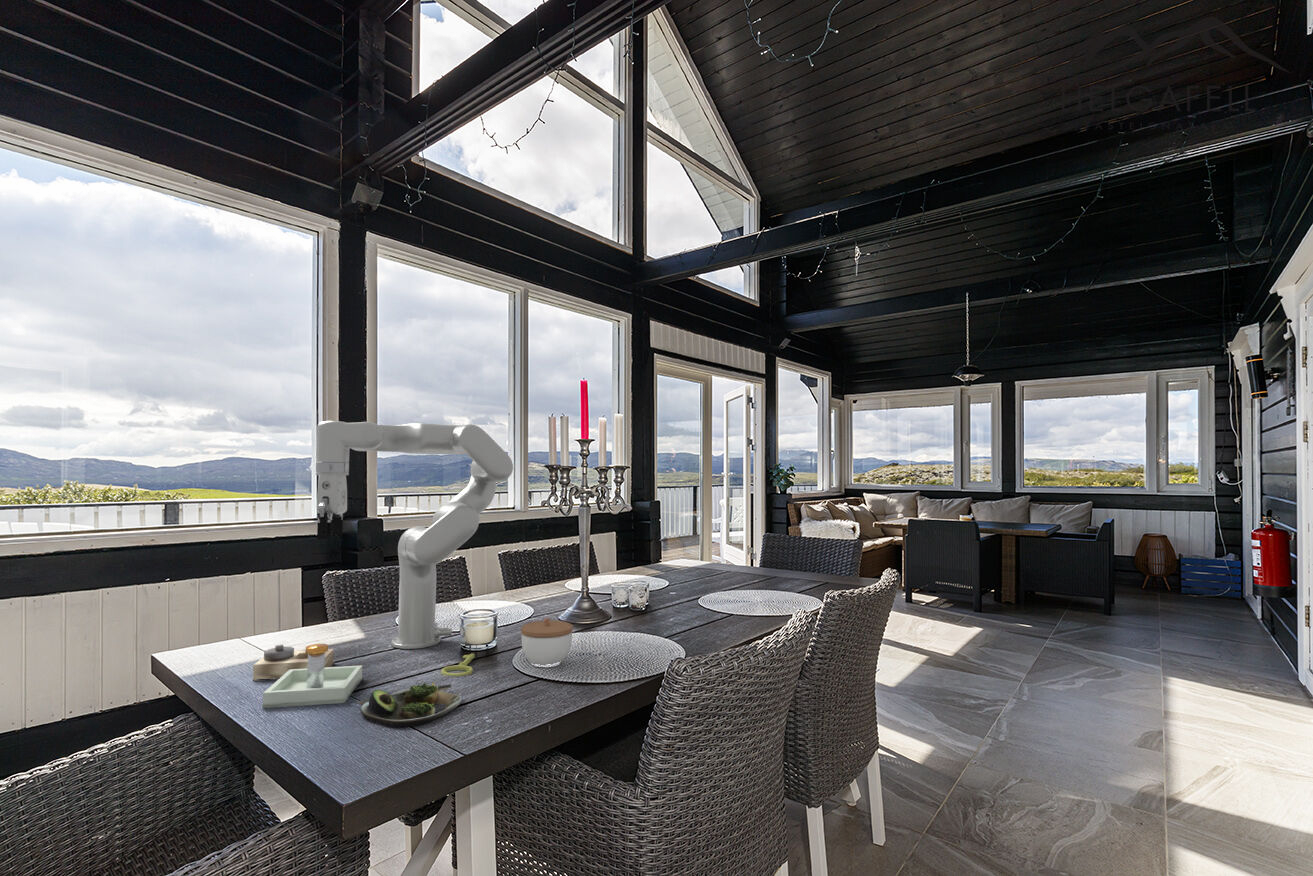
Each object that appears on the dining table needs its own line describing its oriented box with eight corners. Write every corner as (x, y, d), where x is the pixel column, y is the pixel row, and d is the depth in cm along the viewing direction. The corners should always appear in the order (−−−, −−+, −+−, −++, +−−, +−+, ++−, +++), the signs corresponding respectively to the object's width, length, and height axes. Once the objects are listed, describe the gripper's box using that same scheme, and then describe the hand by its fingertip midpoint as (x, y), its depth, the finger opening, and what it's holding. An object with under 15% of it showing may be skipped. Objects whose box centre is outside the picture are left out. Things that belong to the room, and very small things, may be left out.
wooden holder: (333, 663, 154) (334, 637, 154) (321, 676, 144) (321, 649, 144) (269, 666, 151) (270, 640, 151) (252, 680, 141) (254, 652, 141)
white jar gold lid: (328, 685, 136) (330, 643, 136) (322, 692, 132) (325, 648, 132) (307, 686, 135) (309, 644, 135) (300, 693, 131) (303, 649, 131)
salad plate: (424, 686, 139) (424, 665, 139) (483, 701, 131) (484, 678, 131) (343, 716, 122) (344, 691, 123) (406, 735, 114) (407, 709, 114)
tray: (361, 678, 143) (362, 665, 143) (344, 702, 128) (344, 687, 128) (289, 683, 139) (289, 669, 140) (262, 708, 125) (263, 693, 125)
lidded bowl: (537, 675, 146) (538, 627, 147) (510, 662, 156) (511, 617, 156) (582, 664, 155) (582, 619, 155) (554, 653, 164) (555, 610, 165)
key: (474, 661, 158) (474, 652, 158) (472, 677, 146) (472, 667, 146) (444, 663, 156) (444, 654, 156) (439, 679, 144) (439, 670, 144)
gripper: (339, 469, 153) (336, 540, 152) (356, 469, 170) (354, 533, 169) (305, 469, 151) (302, 541, 150) (326, 469, 168) (324, 533, 167)
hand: (330, 536), depth 160 cm, fingers open, 9 cm apart
